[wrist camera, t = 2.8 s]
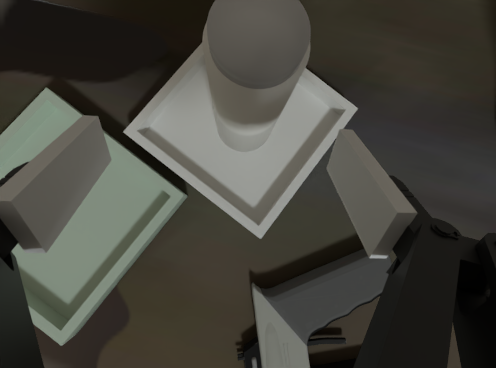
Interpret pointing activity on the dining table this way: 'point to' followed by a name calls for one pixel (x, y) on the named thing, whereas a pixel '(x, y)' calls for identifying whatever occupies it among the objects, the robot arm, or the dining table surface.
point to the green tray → (85, 222)
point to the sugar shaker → (253, 65)
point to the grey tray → (235, 162)
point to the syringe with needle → (311, 310)
